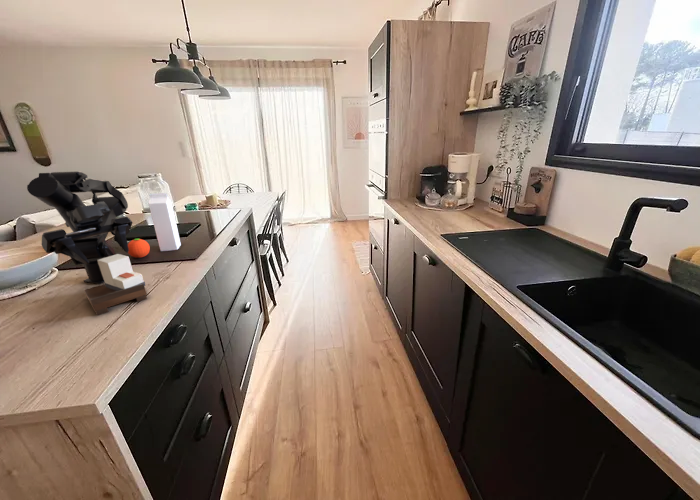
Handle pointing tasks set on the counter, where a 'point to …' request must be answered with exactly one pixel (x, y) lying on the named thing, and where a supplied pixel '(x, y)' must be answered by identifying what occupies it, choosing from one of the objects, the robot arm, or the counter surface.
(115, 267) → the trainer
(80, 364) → the counter surface
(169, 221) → the milk
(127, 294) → the brown wooden stand
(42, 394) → the counter surface
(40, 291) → the counter surface
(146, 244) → the clementine
